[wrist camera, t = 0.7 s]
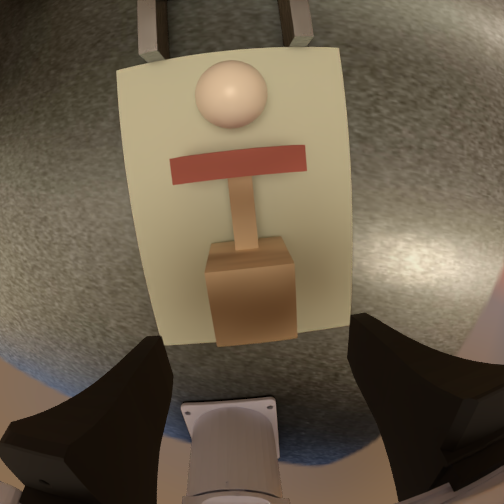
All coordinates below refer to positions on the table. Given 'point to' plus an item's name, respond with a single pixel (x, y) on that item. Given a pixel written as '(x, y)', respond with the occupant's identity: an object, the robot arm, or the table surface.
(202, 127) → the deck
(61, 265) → the table surface
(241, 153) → the t-shaped pusher
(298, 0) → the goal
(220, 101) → the ball
